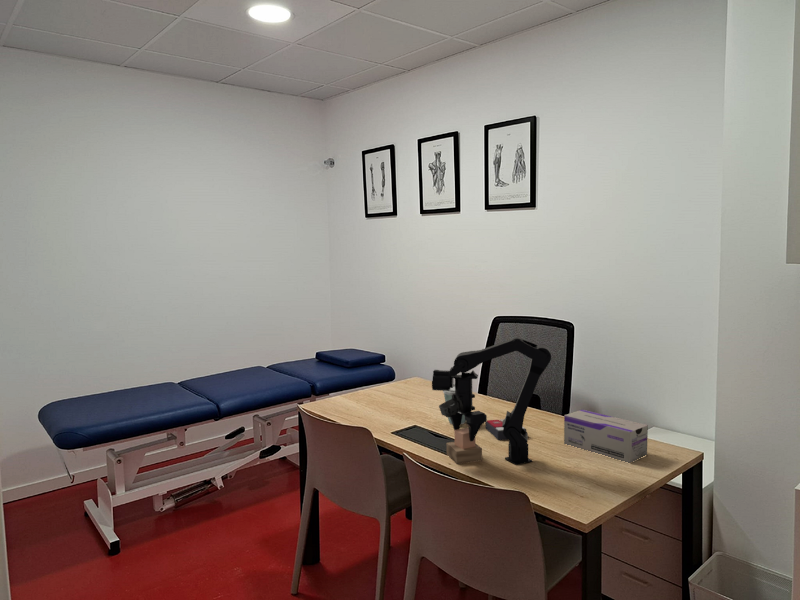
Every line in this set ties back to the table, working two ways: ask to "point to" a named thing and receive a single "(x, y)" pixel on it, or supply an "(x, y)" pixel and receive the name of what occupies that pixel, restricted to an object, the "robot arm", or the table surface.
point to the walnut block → (464, 453)
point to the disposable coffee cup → (448, 397)
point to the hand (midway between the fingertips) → (464, 437)
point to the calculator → (496, 428)
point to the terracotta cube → (463, 438)
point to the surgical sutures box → (606, 435)
